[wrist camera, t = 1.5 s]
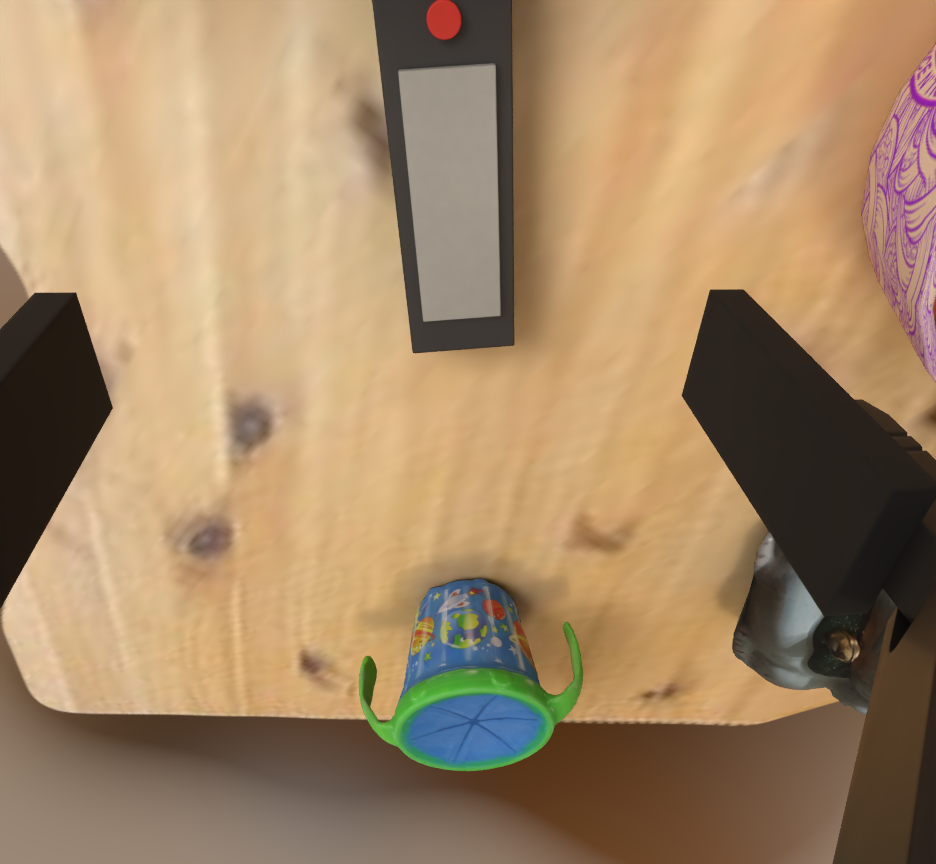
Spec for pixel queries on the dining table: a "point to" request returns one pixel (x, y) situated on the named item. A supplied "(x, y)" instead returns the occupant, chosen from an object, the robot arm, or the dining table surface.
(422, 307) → the tv remote
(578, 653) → the snack cup
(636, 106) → the dining table surface
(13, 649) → the dining table surface
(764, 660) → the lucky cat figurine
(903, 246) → the bowl of food
